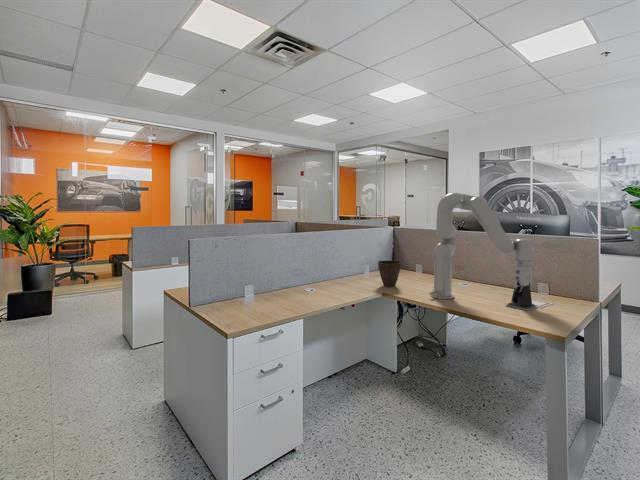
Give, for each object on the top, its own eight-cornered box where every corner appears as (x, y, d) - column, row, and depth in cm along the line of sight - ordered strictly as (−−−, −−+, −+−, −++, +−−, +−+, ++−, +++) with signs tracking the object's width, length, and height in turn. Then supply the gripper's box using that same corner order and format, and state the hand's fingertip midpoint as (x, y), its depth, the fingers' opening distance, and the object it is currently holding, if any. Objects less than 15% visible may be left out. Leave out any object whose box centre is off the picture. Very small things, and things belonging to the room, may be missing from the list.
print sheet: (540, 308, 168) (540, 307, 168) (510, 301, 181) (510, 300, 181) (552, 303, 175) (552, 303, 175) (522, 297, 188) (522, 297, 188)
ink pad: (526, 311, 163) (527, 307, 163) (506, 306, 172) (506, 303, 172) (536, 307, 169) (536, 304, 169) (516, 303, 177) (516, 300, 177)
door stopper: (532, 306, 165) (533, 282, 164) (519, 305, 166) (520, 282, 165) (523, 301, 174) (524, 278, 173) (511, 301, 175) (512, 278, 174)
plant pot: (374, 286, 219) (374, 262, 218) (383, 282, 231) (383, 259, 230) (395, 289, 211) (395, 264, 209) (404, 285, 223) (404, 261, 222)
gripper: (522, 265, 161) (520, 302, 162) (539, 262, 170) (537, 297, 171) (506, 263, 167) (505, 299, 168) (523, 260, 176) (522, 294, 178)
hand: (521, 297), depth 170 cm, fingers closed on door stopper, 5 cm apart
